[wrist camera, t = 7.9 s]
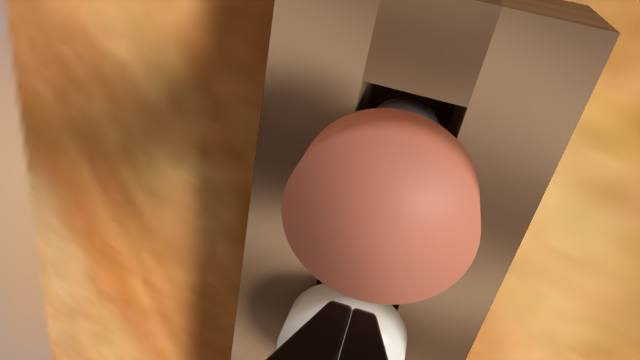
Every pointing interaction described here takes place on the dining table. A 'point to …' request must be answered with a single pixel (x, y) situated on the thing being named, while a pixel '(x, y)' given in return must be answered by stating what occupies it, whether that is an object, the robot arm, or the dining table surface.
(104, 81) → the dining table surface
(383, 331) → the button
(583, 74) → the button block
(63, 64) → the dining table surface
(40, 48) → the dining table surface
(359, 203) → the red button
